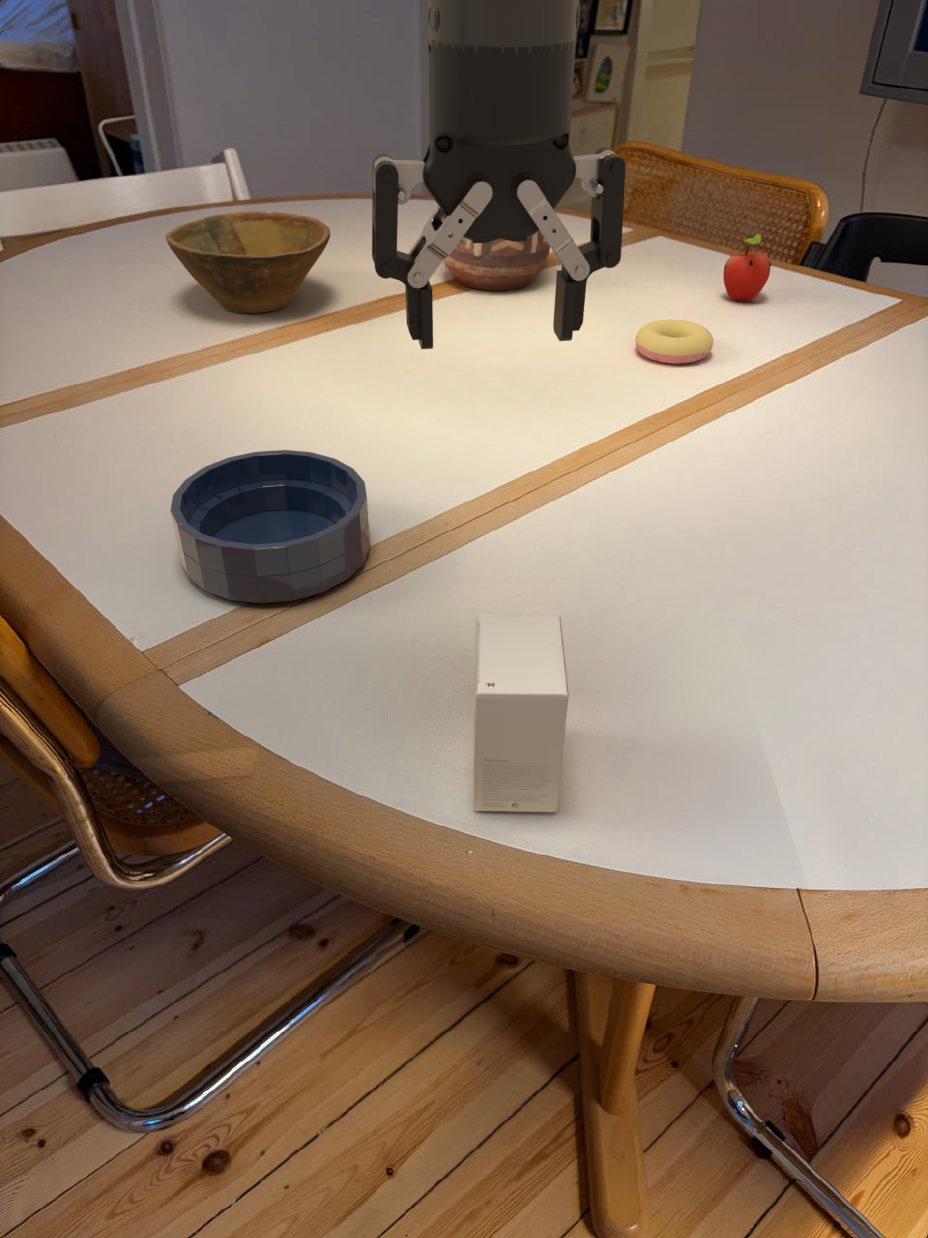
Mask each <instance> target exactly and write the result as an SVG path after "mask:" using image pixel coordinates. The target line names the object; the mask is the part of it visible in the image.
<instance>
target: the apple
mask: <svg viewBox="0 0 928 1238" xmlns="http://www.w3.org/2000/svg"><path fill="white" fill-rule="evenodd" d="M761 241H762V234H761V233H758V234H756V235H754V236H753V237H751V238H745V239H744V240H743V243H745V252H739V253H737V254H731V255H730V256H729V257H728V258H727V260H726V262H725V264H724V266H723V273H722V274H723V275H722V276H723V284H724V288H725V291H726V294H727V296H728V297H729V299H730V300H732V301H734V302H744V303H749V302H752V301H753V300H755V299H756V297H757V296H758V295H759V294H760V292H761V291H762V290H763V289H764V287H765V286H766V284H767V282H768V280H769V278H770V274H771V267H772V262H771V261H770V259H769V257H768V255H767V254H766V253H764V252H761V251H749V250H750V248H751V245H757V244H761Z"/></svg>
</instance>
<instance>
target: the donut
mask: <svg viewBox="0 0 928 1238" xmlns="http://www.w3.org/2000/svg"><path fill="white" fill-rule="evenodd" d="M634 340H635V341H634V342H635V347H636V349H637V351H638V352H639V353H640V354H641V355H643V356H644V357H645V358H647V359H650V360H651V361H655V362H659V363H664V364H673V365H674V364H675V365H676V364H677V365H678V364H690V363H695V362H698V361H700V360H702V359H704V358H706V357H707V356H708V355H709V354H710V352H711V351H712V349H713V346H714V337H713V335H712V333H711V331H710V330H709V329H708V328H707V327H705V326H704V325H701V324H699V323H697V322H693V321H689V320H685V319H684V320H683V319H660V320H659V319H658V320H654V321H650V322H648V323H646V324H645V325H643V326H642V327H640V328H639V330H638V331H637V333H636V335H635V338H634Z"/></svg>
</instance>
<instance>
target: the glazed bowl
mask: <svg viewBox="0 0 928 1238" xmlns="http://www.w3.org/2000/svg"><path fill="white" fill-rule="evenodd" d="M367 495H368V494H367V487H366V482H365V480H364V479H363V478H362V477H361V476H360V475H359V473H358V471H356V470H355V468H353V467H351V466H349V465H347V464H345V463H344V462H342V461H340V460H339V459H337V458H334V457H331V456H327V455H325V454H324V455H323V454H319V453H316V452H313V451H305V450H304V451H303V450H291V449H281V450H280V449H279V450H278V449H276V450H264V451H263V450H262V451H253V452H248V453H243V454H238V455H234V456H229V457H226V458H224V459H221V460H219V461H216V462H214V463H211V464H208V465H206V466H204V467H202V468H201V469H199V470H197V471H196V472H195V473H193V474H192V475H190V476H189V477H186V479H184V480H183V481H182V483H181V484H180V485H179V487H178V488H177V489H176V491H175V492H174V493H173V495H172V499H171V505H170V510H169V511H170V516H171V520H172V524H173V529H174V534H175V539H176V542H177V543H176V544H177V549H178V554H179V557H180V558H179V559H180V562H181V564H182V567H183V569H184V572H185V573H186V575H187V578H188V579H189V580H191V581H192V582H193V583H194V584H196V585H197V586H198V587H199V588H201V589H202V590H204V591H205V592H207V593H210V594H212V595H215V596H218V597H220V598H224V599H226V600H229V601H236V602H237V601H238V602H245V603H247V602H248V603H255V604H268V603H279V602H291V601H296V600H301V599H304V598H308V597H311V596H314V595H318V594H322V593H324V592H326V591H328V590H330V589H332V588H334V587H335V586H337V585H339V584H341V583H343V582H345V581H347V580H348V579H349V578H351V576H352V575H353V574H354V573H355V572H357V571H358V570H359V569H360V568H361V567H362V566H363V565H364V563H365V560H366V558H367V555H368V553H369V551H370V550H371V543H370V541H371V540H370V524H369V509H368V507H369V506H368V496H367Z"/></svg>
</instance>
